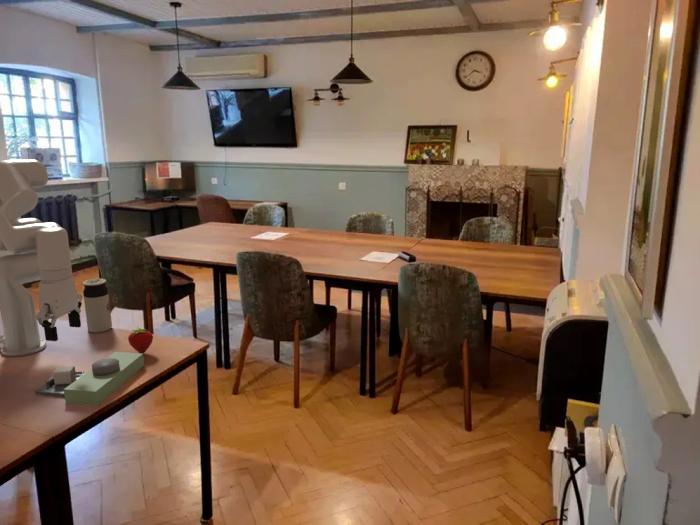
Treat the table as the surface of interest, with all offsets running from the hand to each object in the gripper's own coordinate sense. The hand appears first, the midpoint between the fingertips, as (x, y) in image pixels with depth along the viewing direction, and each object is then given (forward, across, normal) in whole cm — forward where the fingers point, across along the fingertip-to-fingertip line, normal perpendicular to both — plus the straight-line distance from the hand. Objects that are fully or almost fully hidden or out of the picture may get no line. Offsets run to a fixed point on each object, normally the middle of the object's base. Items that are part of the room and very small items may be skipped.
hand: (64, 333), depth 142 cm
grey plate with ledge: (+16, 0, 0) cm, 16 cm away
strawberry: (+16, -23, +9) cm, 29 cm away
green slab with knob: (+16, -3, +9) cm, 18 cm away
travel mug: (+17, -41, -17) cm, 47 cm away
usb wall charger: (+15, 0, 0) cm, 15 cm away
